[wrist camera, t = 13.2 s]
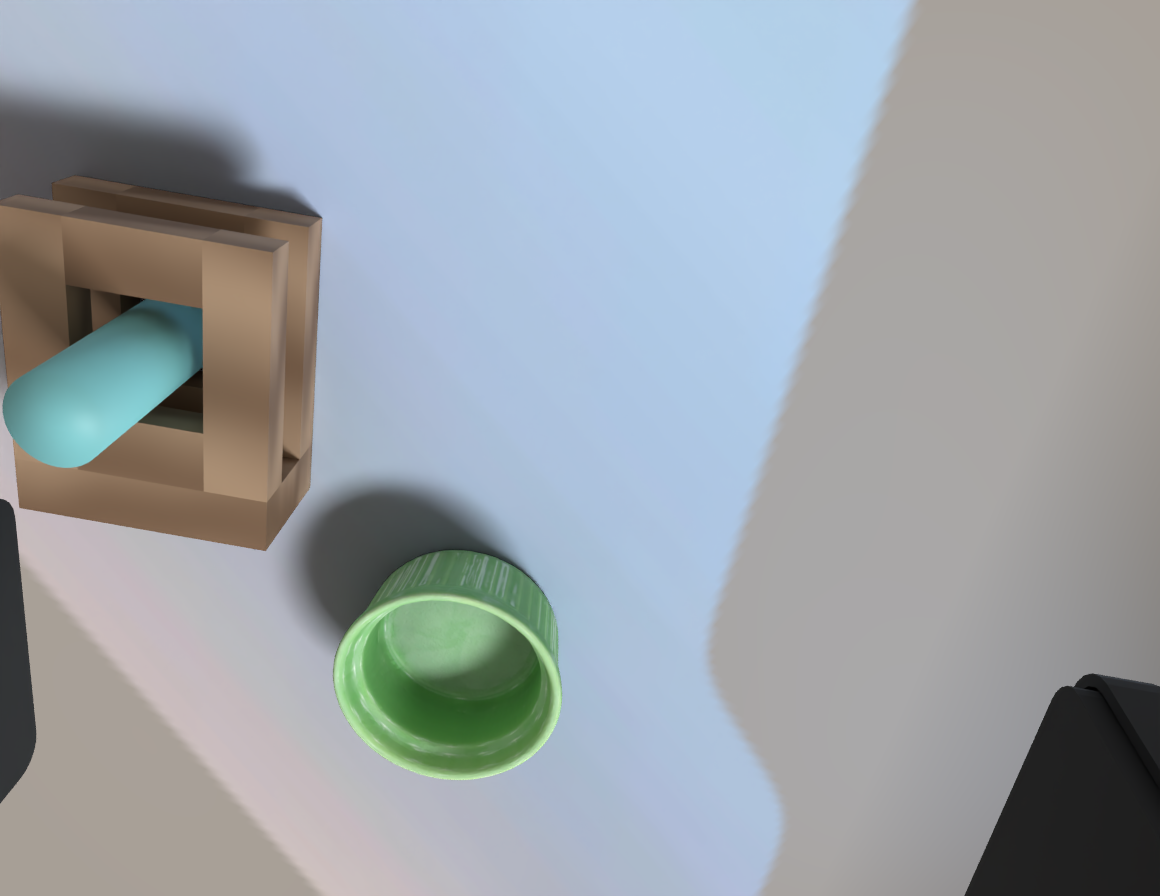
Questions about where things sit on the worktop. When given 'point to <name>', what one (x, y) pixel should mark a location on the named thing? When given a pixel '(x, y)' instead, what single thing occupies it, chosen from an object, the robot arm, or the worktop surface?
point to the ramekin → (452, 667)
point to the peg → (104, 383)
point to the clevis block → (230, 352)
